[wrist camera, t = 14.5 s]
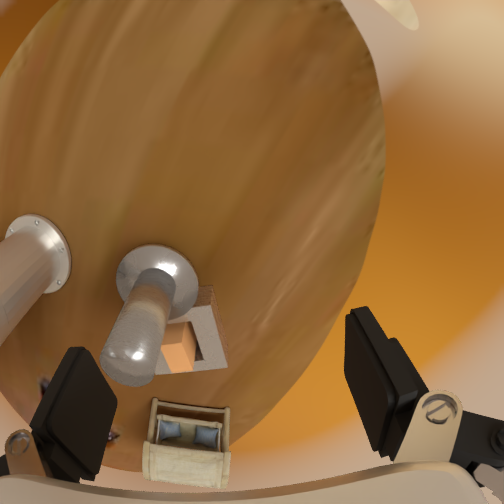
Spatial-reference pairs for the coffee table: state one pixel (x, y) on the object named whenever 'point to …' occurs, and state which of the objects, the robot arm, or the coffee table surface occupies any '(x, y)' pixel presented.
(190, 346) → the orange rectangular block
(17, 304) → the robot arm
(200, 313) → the bracket head
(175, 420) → the swing bench
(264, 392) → the coffee table surface
